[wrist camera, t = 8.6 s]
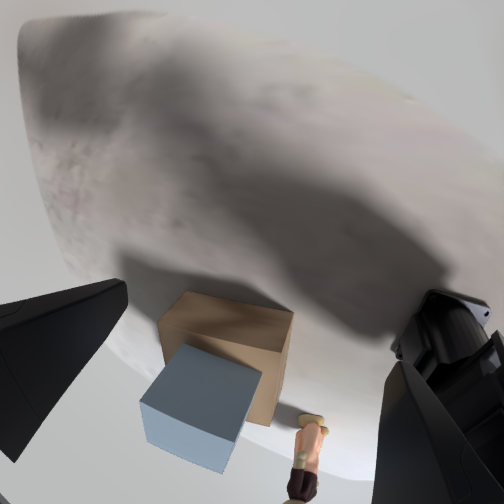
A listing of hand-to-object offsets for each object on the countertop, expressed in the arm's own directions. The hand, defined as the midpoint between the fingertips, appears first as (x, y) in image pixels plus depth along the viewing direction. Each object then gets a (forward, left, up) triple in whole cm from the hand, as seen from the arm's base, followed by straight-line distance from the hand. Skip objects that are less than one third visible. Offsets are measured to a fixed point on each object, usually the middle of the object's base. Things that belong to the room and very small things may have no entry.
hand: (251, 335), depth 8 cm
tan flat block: (+3, +12, -12) cm, 18 cm away
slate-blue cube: (+3, +12, -7) cm, 15 cm away
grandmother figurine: (-7, +21, -12) cm, 26 cm away
